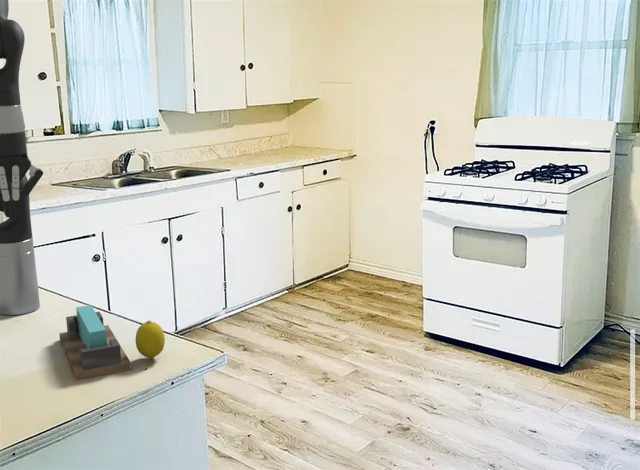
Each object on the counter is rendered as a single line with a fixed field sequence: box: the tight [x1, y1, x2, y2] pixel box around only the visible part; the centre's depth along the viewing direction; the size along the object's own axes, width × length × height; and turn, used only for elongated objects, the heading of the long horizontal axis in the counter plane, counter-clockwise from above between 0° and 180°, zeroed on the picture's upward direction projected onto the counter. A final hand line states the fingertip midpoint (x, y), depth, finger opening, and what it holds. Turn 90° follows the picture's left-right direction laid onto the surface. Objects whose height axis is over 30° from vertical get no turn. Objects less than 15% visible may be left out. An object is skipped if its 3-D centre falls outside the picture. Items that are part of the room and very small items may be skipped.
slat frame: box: [58, 311, 132, 381], centre depth 137 cm, size 22×10×5 cm, turn 28°
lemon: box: [135, 320, 166, 360], centre depth 134 cm, size 6×6×8 cm
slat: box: [75, 304, 107, 349], centre depth 136 cm, size 16×3×6 cm, turn 28°
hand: (13, 218), depth 133 cm, fingers closed
